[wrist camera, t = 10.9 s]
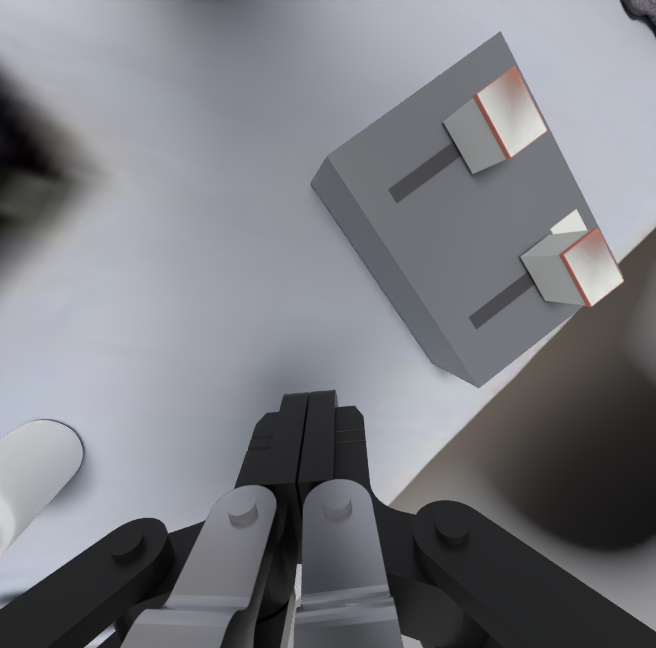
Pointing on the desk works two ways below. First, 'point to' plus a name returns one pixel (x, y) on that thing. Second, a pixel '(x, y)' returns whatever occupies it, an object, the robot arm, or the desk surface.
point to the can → (33, 473)
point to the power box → (455, 222)
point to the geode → (642, 8)
